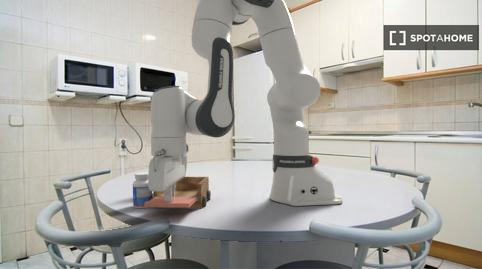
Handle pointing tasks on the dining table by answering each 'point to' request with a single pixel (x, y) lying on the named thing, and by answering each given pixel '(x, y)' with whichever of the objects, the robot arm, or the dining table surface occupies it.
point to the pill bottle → (141, 190)
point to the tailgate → (177, 202)
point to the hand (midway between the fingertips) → (169, 200)
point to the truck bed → (191, 190)
